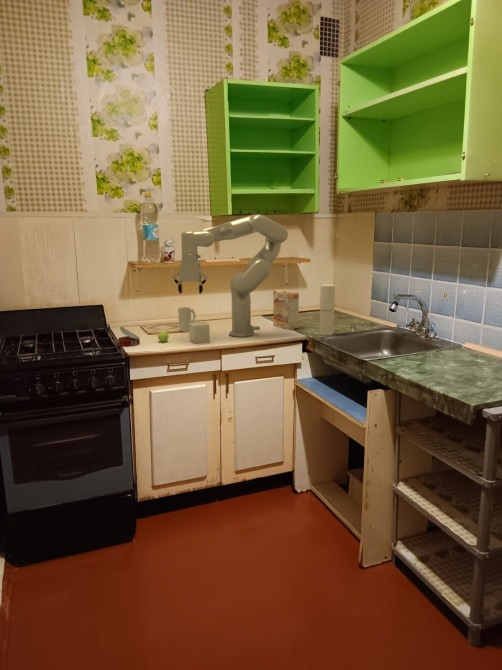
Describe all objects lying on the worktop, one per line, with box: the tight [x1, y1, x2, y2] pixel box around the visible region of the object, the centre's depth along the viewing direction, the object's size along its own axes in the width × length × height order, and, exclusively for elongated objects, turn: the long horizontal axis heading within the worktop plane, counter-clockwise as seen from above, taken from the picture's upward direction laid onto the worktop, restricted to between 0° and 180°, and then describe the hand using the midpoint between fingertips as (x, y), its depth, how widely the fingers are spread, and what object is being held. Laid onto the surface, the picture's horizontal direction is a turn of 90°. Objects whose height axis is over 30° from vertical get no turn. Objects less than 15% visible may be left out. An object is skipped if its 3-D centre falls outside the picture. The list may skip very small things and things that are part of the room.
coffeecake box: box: [272, 289, 300, 331], centre depth 276 cm, size 15×7×20 cm, turn 30°
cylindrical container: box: [318, 283, 336, 336], centre depth 258 cm, size 7×7×25 cm
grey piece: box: [188, 321, 211, 345], centre depth 245 cm, size 8×8×9 cm
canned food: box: [117, 326, 141, 348], centre depth 242 cm, size 11×10×10 cm
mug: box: [177, 306, 196, 333], centre depth 271 cm, size 10×7×12 cm, turn 130°
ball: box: [157, 331, 170, 343], centre depth 246 cm, size 5×5×5 cm
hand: (190, 293), depth 248 cm, fingers open, 9 cm apart
